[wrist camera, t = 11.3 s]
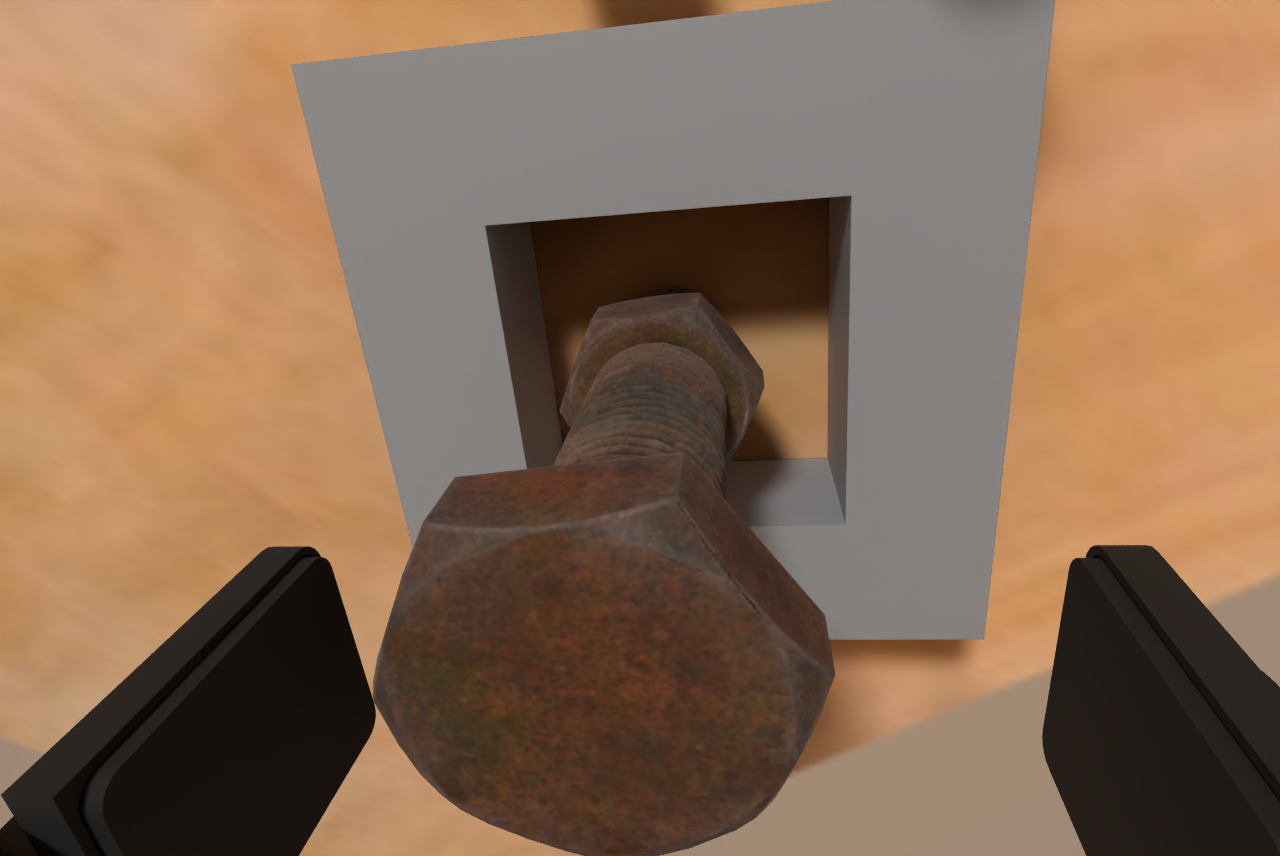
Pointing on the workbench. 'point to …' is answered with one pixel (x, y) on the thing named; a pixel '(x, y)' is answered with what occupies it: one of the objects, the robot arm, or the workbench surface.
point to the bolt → (611, 612)
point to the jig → (709, 177)
